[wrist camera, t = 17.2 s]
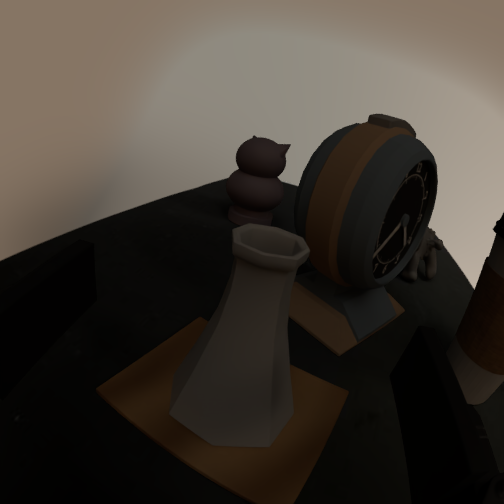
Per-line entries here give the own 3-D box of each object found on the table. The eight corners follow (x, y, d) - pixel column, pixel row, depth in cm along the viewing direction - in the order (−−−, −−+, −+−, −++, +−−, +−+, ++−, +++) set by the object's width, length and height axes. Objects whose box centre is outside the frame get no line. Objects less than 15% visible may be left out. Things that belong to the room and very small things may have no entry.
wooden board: (96, 392, 15) (95, 388, 15) (199, 320, 23) (199, 316, 23) (283, 518, 10) (285, 516, 10) (347, 395, 19) (349, 391, 19)
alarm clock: (330, 361, 22) (418, 110, 14) (249, 293, 28) (295, 86, 21) (407, 309, 31) (466, 149, 23) (341, 267, 37) (384, 122, 30)
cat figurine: (210, 210, 46) (223, 129, 41) (251, 208, 51) (266, 135, 46) (245, 234, 40) (264, 141, 35) (288, 229, 45) (307, 147, 40)
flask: (299, 374, 19) (353, 234, 15) (281, 467, 13) (367, 313, 9) (195, 342, 20) (215, 197, 16) (146, 422, 14) (141, 247, 10)
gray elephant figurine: (436, 278, 40) (455, 230, 37) (411, 302, 32) (437, 241, 29) (385, 250, 46) (401, 204, 43) (348, 265, 38) (367, 207, 35)
